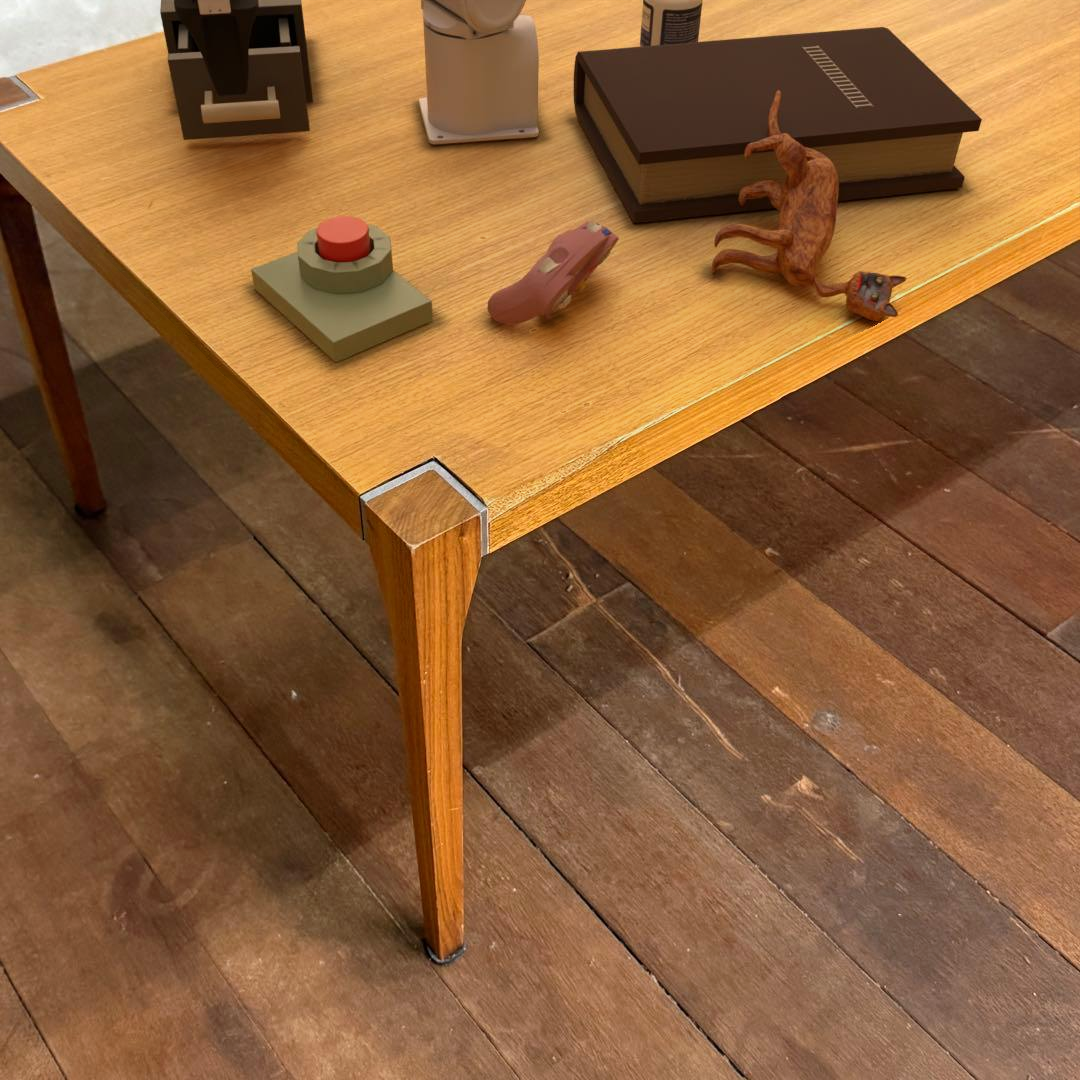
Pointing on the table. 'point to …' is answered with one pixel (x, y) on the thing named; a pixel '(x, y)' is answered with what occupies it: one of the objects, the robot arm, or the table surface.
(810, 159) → the cat figurine
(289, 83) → the drawer
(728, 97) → the book
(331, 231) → the button
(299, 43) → the cabinet
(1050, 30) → the table surface
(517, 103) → the robot arm
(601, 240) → the pink pronged piece
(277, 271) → the olive button base
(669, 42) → the pill bottle
